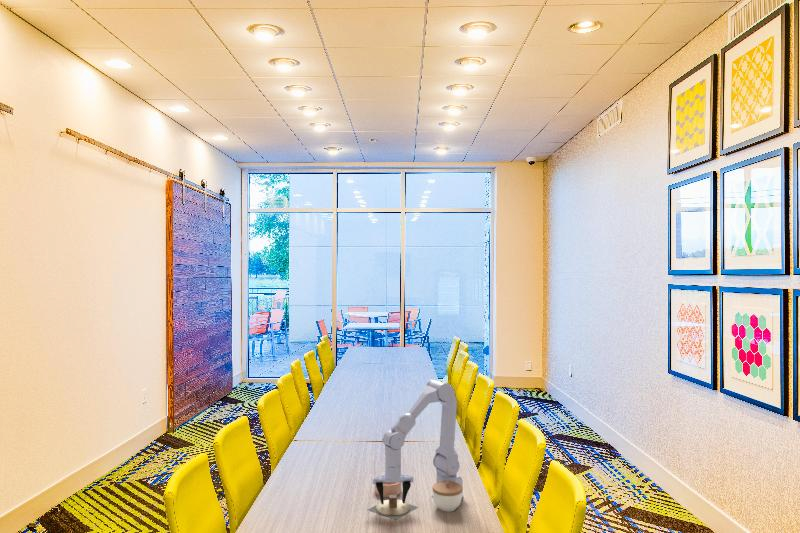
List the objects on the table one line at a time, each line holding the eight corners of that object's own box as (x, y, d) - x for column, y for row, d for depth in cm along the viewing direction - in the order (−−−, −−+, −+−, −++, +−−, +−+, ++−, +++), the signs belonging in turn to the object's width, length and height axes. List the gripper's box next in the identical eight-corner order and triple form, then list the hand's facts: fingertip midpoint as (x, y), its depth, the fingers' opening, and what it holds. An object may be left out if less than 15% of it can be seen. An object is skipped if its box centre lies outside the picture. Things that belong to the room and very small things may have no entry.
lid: (407, 500, 206) (407, 489, 206) (411, 514, 194) (411, 502, 194) (374, 502, 204) (374, 490, 204) (377, 516, 193) (377, 504, 193)
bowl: (406, 491, 216) (406, 479, 216) (390, 499, 208) (390, 487, 208) (386, 484, 222) (386, 473, 222) (369, 492, 214) (370, 481, 214)
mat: (418, 507, 200) (418, 507, 200) (395, 520, 190) (395, 519, 190) (390, 498, 208) (390, 497, 208) (367, 510, 198) (367, 509, 198)
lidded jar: (460, 501, 206) (460, 476, 205) (464, 514, 195) (464, 488, 195) (431, 501, 205) (431, 476, 205) (434, 515, 195) (434, 488, 194)
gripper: (411, 460, 204) (411, 497, 204) (372, 461, 202) (371, 499, 202) (414, 466, 197) (414, 505, 197) (373, 468, 195) (373, 507, 195)
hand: (392, 502), depth 199 cm, fingers open, 7 cm apart
